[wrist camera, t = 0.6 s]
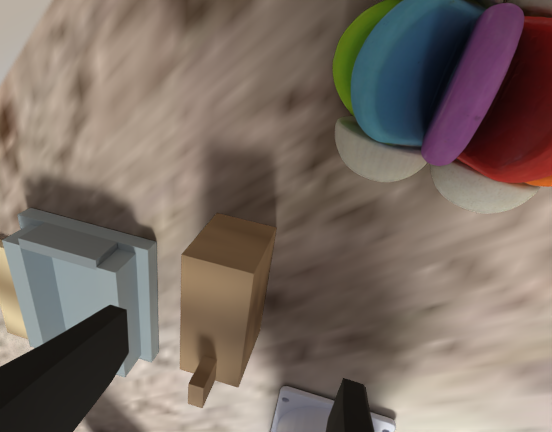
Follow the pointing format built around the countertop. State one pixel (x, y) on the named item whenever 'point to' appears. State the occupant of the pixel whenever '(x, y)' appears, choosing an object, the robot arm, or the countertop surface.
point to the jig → (83, 279)
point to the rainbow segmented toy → (450, 97)
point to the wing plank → (10, 299)
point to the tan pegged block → (222, 301)
